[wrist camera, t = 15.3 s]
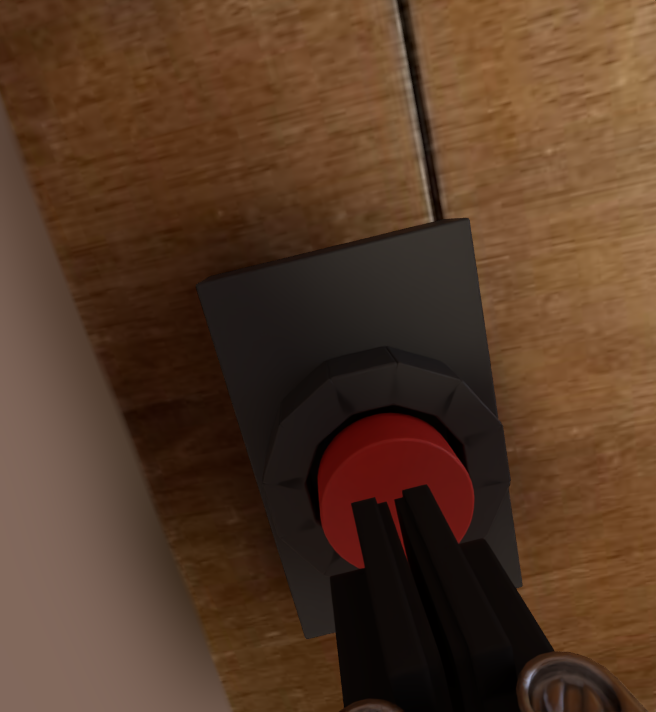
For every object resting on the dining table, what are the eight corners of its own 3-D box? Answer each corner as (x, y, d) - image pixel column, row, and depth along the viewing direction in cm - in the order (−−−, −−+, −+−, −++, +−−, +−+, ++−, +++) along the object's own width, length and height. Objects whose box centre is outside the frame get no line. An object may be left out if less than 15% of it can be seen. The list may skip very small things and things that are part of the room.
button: (334, 548, 14) (339, 592, 13) (302, 430, 13) (303, 460, 11) (463, 517, 14) (485, 556, 13) (441, 396, 13) (463, 421, 11)
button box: (304, 594, 19) (306, 688, 15) (208, 276, 15) (178, 292, 12) (498, 547, 19) (549, 629, 15) (446, 218, 15) (496, 215, 12)
